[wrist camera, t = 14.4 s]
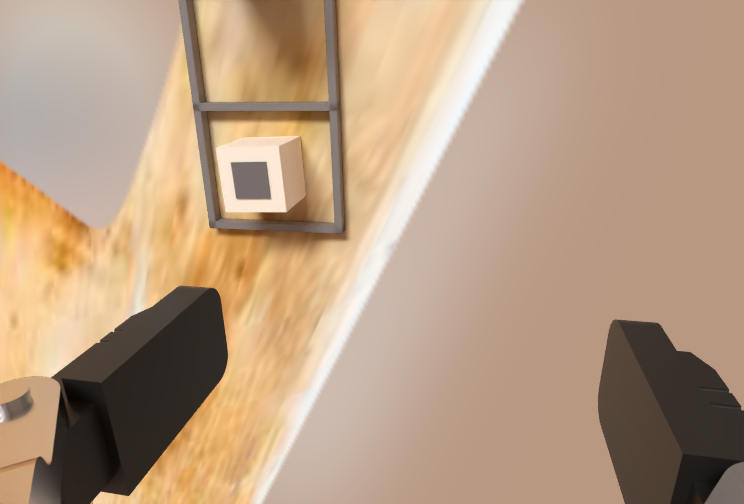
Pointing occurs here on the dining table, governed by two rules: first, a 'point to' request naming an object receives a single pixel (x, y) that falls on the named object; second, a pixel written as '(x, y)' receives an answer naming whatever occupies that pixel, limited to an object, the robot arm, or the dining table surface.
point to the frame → (203, 107)
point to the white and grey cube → (261, 174)
